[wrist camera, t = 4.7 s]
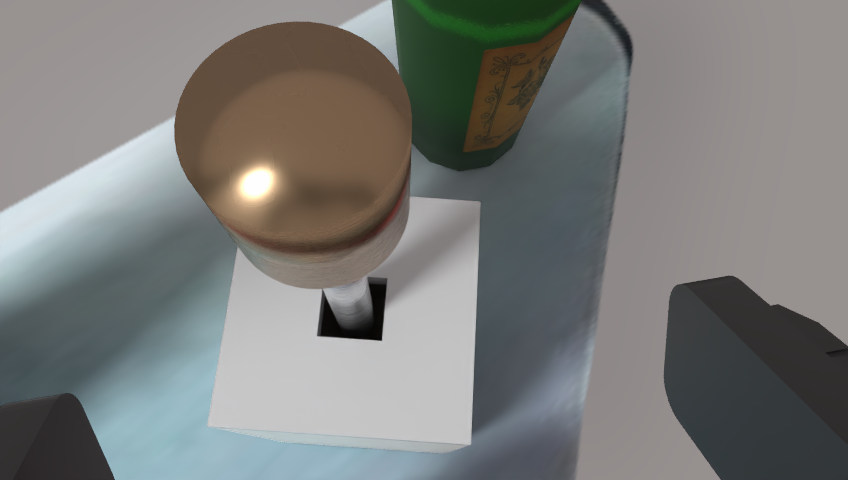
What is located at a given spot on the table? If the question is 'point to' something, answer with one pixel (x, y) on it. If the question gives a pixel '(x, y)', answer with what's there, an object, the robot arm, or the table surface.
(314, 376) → the white box
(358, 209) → the brown round knob
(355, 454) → the table surface
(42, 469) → the robot arm
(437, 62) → the bottle
